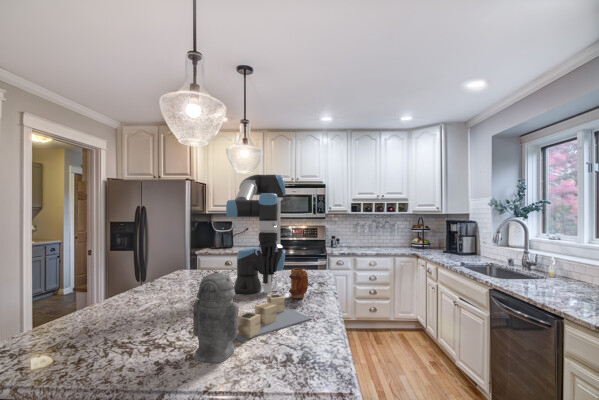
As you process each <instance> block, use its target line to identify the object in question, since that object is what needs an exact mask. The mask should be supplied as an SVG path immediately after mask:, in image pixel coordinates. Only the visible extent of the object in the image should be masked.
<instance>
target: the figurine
mask: <svg viewBox="0 0 599 400" xmlns="http://www.w3.org/2000/svg"><path fill="white" fill-rule="evenodd" d="M198 286H199V287H198V292H197V294H196V298H197V300H196V301H195V302H194V303H193V311H192V312H193V313H192V314H193V316H192V317H193V321H192V328H193V329H192V334H193V335H194V336H195V337H197V340H198V348H196V350H195V352H194V354H195V355H194V356H195V359H196V360H197V361H199V362H206V363H214V364H215V363H221V362H224V361H226V360H228V359H229V358H230V357H231V356H232V354H234V353H235V345H234V344H233V341H235V340H236V339H235V338H236V337H237V335H238V333H239V331H238V316H239V312H240V311H239V310H240V307H239V304H238V303H237V302H235V301H234V300H233V297H234V296H236V293H235V290H234V283H233V280H232V278H231V277H230V276H229V275H228V274H226V273H223V272H222V273H221V272H219V271H217V270H215V271H214V272H213V273H210V274H207V275H205V276H203V277H202V279H201V281H200V283H199V285H198Z"/></svg>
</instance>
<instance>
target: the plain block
mask: <svg viewBox="0 0 599 400" xmlns="http://www.w3.org/2000/svg"><path fill="white" fill-rule="evenodd" d="M254 313H255V314H260V323H261V324H264V325H267V324H269V323H272V322H275V321H277V305H274V304H271V303H268V302H267V301H266V302H263V303H259V304H256V305H254Z"/></svg>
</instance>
